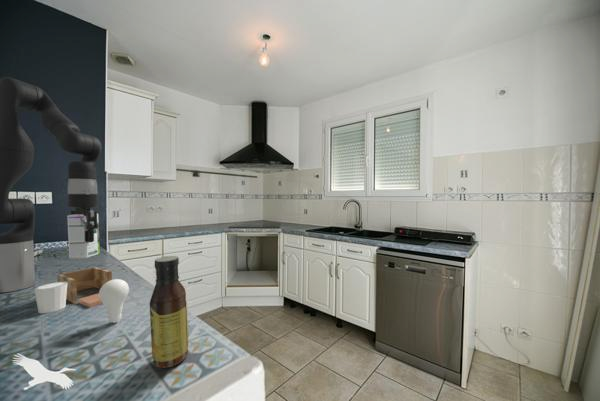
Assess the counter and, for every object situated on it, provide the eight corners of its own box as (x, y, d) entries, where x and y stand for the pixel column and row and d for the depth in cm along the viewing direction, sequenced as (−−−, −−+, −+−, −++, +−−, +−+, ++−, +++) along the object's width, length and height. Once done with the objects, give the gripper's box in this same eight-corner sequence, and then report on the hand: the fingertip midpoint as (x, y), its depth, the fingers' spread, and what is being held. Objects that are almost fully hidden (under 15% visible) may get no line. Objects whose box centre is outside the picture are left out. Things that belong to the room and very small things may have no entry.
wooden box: (58, 295, 81) (57, 274, 81) (95, 285, 90) (95, 267, 90) (73, 303, 75) (72, 280, 75) (112, 291, 84) (111, 271, 84)
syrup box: (87, 258, 80) (86, 214, 79) (67, 258, 79) (66, 214, 79) (100, 254, 85) (99, 213, 85) (82, 254, 85) (81, 213, 85)
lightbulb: (135, 318, 64) (134, 276, 64) (110, 330, 58) (109, 285, 58) (119, 315, 66) (118, 275, 66) (93, 326, 60) (92, 282, 60)
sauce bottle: (162, 350, 50) (159, 254, 50) (193, 348, 50) (190, 252, 50) (144, 373, 43) (140, 262, 43) (180, 370, 44) (177, 261, 44)
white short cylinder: (47, 315, 67) (46, 290, 67) (28, 313, 69) (27, 288, 68) (74, 304, 74) (73, 281, 74) (57, 303, 75) (56, 280, 75)
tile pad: (79, 302, 75) (78, 298, 75) (110, 293, 82) (110, 289, 82) (89, 307, 71) (89, 303, 71) (122, 297, 78) (121, 293, 78)
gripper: (60, 193, 82) (61, 241, 82) (77, 192, 75) (78, 245, 75) (88, 193, 89) (89, 237, 89) (106, 192, 82) (107, 241, 82)
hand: (84, 241), depth 82 cm, fingers closed on syrup box, 7 cm apart
